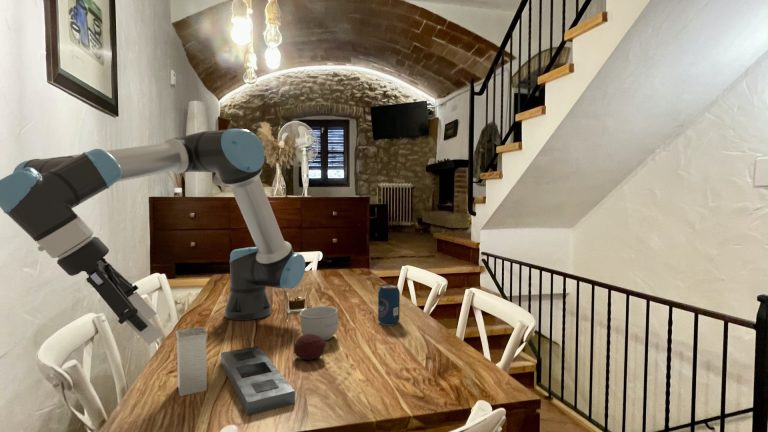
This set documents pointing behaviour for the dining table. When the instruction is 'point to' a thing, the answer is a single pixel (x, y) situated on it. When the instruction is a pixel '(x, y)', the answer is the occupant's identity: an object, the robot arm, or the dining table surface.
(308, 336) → the potato
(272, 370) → the grey board with recesses
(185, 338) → the grey rectangular block
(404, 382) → the dining table surface
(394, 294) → the soda can
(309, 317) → the teacup
